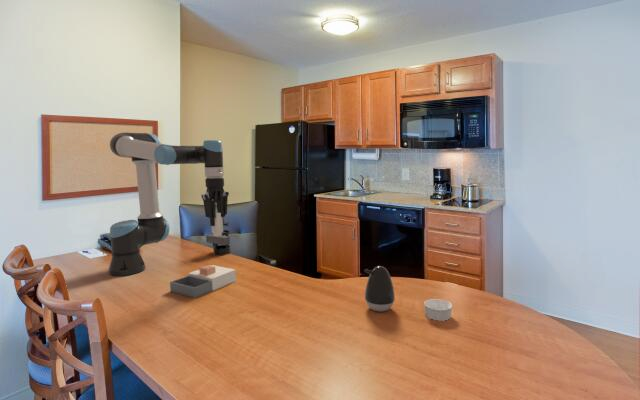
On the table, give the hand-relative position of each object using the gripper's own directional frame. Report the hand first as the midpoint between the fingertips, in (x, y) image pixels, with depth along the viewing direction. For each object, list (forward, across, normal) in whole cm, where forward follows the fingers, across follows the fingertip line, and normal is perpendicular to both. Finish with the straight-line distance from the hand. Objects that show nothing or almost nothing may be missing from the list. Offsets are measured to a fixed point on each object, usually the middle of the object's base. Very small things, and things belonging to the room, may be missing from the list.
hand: (217, 232), depth 157 cm
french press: (+21, +32, +33) cm, 51 cm away
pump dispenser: (+22, +7, -71) cm, 75 cm away
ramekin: (+22, +11, -90) cm, 93 cm away
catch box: (+21, -15, 0) cm, 26 cm away
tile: (+16, -7, 0) cm, 17 cm away
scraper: (+5, 0, 0) cm, 5 cm away
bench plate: (+21, -4, 0) cm, 21 cm away
